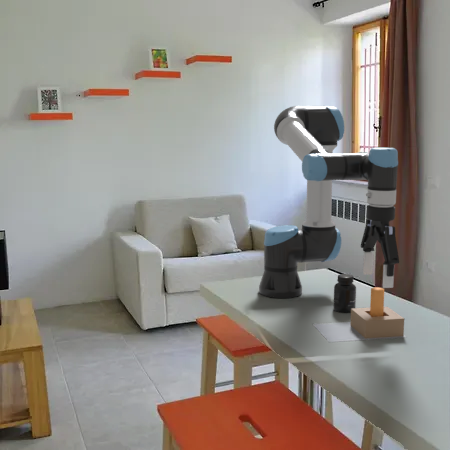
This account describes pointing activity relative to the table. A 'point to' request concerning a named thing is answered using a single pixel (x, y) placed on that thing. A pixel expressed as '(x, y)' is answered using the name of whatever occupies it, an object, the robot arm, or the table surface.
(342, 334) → the socket board
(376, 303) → the peg
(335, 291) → the supplement bottle
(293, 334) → the table surface
